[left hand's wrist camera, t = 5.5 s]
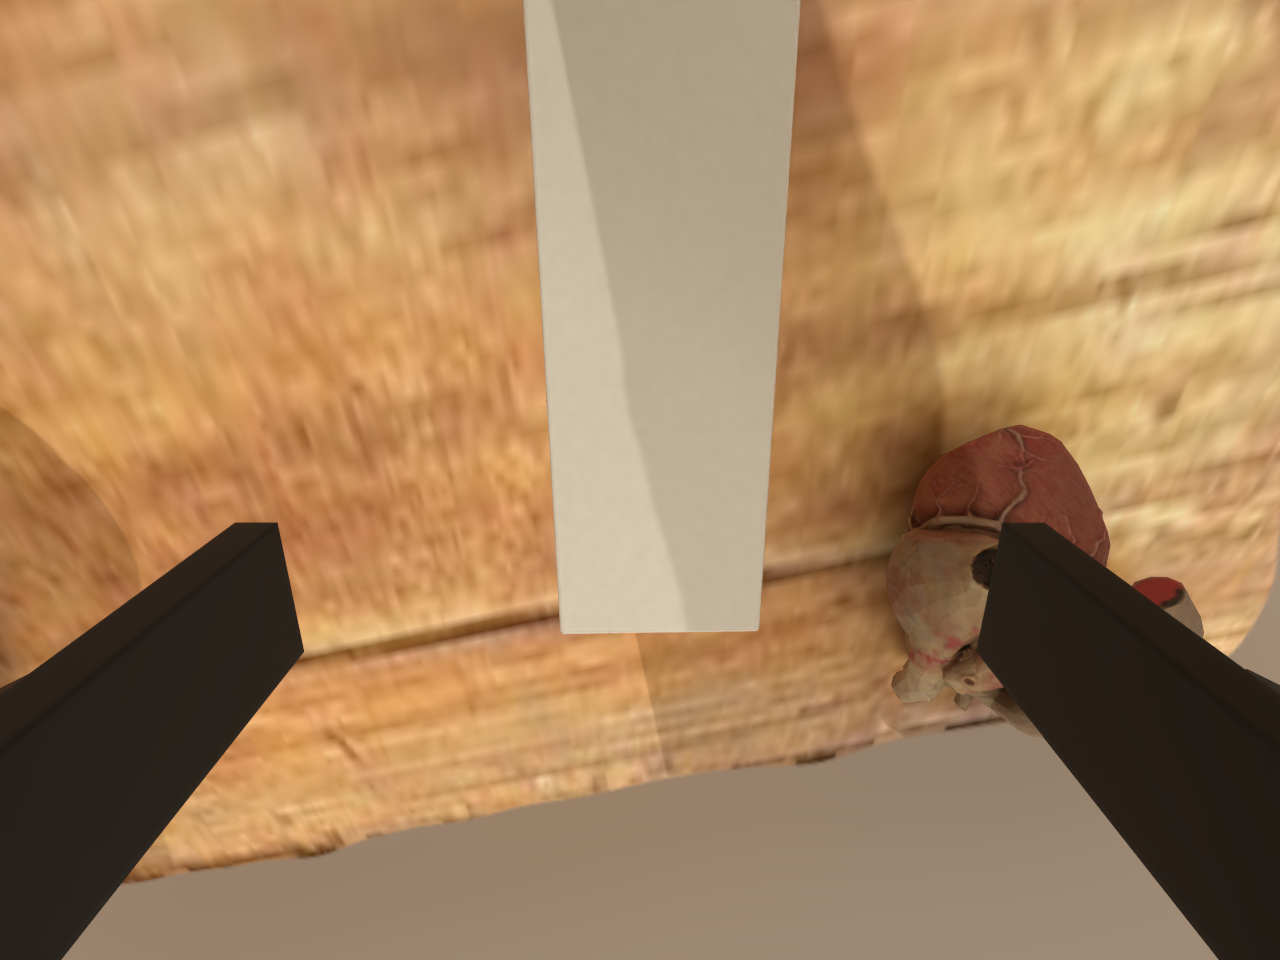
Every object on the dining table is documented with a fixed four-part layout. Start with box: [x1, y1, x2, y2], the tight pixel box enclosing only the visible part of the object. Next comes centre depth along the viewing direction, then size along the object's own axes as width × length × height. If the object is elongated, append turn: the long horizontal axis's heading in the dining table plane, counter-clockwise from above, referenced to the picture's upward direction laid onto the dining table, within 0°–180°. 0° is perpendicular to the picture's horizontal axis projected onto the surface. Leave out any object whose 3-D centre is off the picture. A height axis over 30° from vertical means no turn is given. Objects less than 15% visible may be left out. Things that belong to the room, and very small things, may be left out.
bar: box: [523, 0, 801, 634], centre depth 16 cm, size 28×5×8 cm, turn 0°
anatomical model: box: [886, 425, 1204, 737], centre depth 29 cm, size 13×9×15 cm
